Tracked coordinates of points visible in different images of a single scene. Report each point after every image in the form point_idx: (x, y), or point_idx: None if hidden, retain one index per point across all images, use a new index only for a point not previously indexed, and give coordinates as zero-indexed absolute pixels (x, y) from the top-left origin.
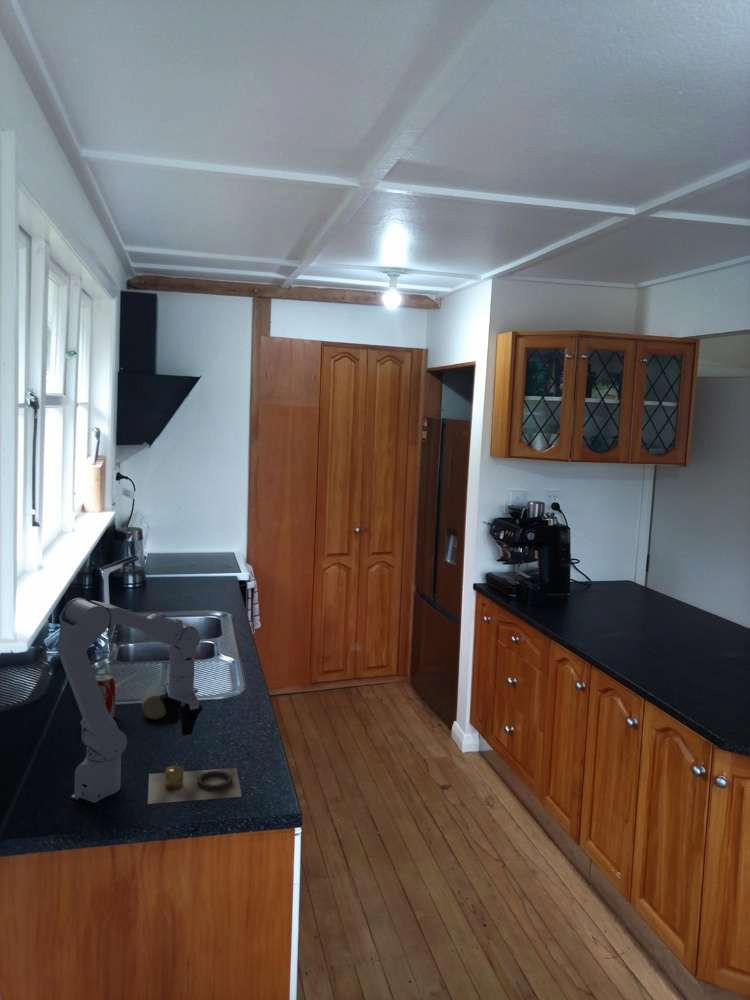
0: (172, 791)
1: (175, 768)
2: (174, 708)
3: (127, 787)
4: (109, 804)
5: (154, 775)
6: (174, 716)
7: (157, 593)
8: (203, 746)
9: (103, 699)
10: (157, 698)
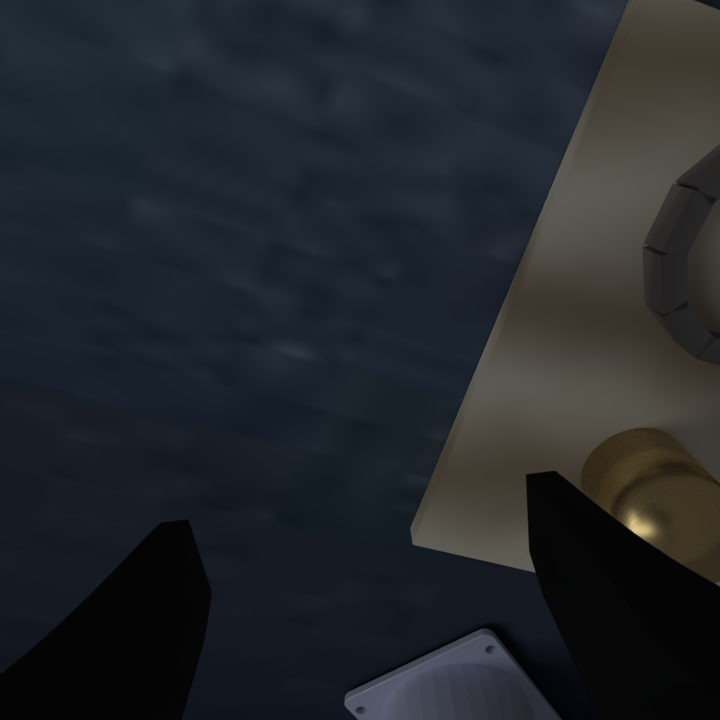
0: None
1: (682, 537)
2: (125, 715)
3: (456, 623)
4: (569, 701)
5: (446, 526)
6: (169, 614)
7: None
8: (57, 75)
9: None
10: None
